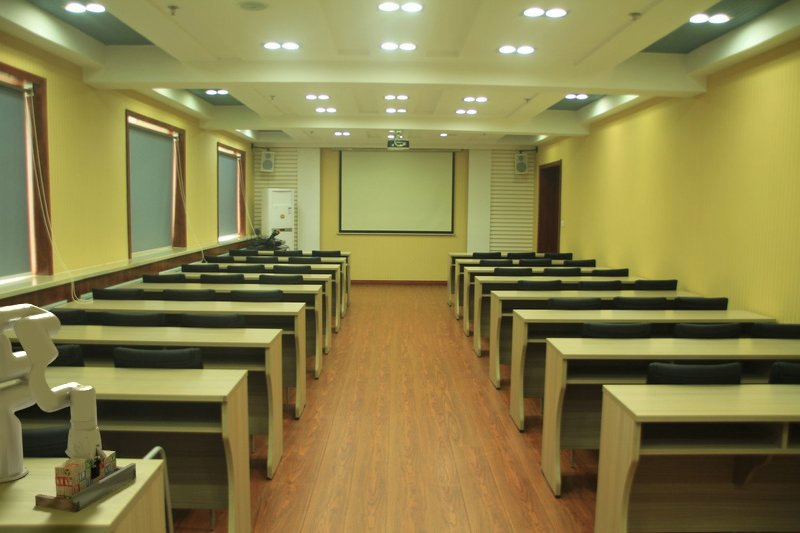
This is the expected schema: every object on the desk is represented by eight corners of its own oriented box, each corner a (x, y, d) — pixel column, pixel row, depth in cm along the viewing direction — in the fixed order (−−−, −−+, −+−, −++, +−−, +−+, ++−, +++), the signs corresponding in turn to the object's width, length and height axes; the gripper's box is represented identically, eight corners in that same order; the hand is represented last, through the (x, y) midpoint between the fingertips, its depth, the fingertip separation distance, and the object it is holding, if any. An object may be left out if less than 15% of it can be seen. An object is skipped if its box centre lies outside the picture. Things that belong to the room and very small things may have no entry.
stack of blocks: (101, 475, 214) (100, 441, 213) (117, 477, 213) (115, 442, 212) (56, 503, 193) (54, 466, 192) (73, 505, 192) (71, 467, 191)
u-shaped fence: (35, 505, 192) (34, 489, 192) (98, 471, 217) (98, 457, 217) (76, 512, 188) (75, 496, 187) (136, 477, 213) (135, 463, 212)
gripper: (53, 424, 200) (56, 477, 201) (96, 430, 195) (99, 484, 196) (72, 417, 207) (74, 468, 208) (114, 422, 202) (116, 474, 203)
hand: (86, 475), depth 202 cm, fingers closed on stack of blocks, 6 cm apart
